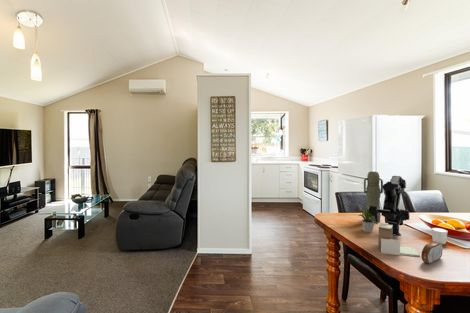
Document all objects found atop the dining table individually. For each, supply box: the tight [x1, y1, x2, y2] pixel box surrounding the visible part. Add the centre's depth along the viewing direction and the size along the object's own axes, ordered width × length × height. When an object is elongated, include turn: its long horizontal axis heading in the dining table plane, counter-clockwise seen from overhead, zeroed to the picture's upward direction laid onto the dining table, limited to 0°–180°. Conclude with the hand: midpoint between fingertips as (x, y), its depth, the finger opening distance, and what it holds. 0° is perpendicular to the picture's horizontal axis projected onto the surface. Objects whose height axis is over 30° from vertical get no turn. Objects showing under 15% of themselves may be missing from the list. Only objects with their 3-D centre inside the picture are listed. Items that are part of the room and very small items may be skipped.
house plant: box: [357, 205, 379, 233], centre depth 154 cm, size 14×14×16 cm
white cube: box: [431, 227, 448, 245], centre depth 136 cm, size 7×7×7 cm
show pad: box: [399, 245, 421, 258], centre depth 125 cm, size 9×9×1 cm
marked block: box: [378, 222, 394, 251], centre depth 129 cm, size 6×6×12 cm
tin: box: [420, 240, 444, 264], centre depth 115 cm, size 15×3×8 cm, turn 118°
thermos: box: [363, 171, 384, 224], centre depth 174 cm, size 9×12×35 cm
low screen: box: [380, 238, 401, 256], centre depth 123 cm, size 2×8×7 cm, turn 70°
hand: (386, 225), depth 131 cm, fingers open, 9 cm apart
